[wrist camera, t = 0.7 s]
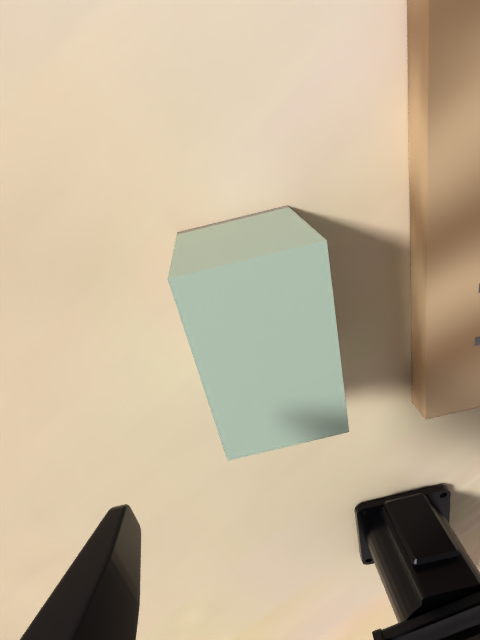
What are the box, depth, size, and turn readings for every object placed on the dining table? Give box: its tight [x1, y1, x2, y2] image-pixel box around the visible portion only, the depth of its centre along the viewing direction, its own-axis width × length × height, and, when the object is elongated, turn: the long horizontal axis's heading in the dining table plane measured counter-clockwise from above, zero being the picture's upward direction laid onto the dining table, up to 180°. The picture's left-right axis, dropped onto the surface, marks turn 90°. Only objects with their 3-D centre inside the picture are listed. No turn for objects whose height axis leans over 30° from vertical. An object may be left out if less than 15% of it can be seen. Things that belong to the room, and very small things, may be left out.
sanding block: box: [168, 206, 349, 461], centre depth 16 cm, size 8×5×6 cm, turn 13°
